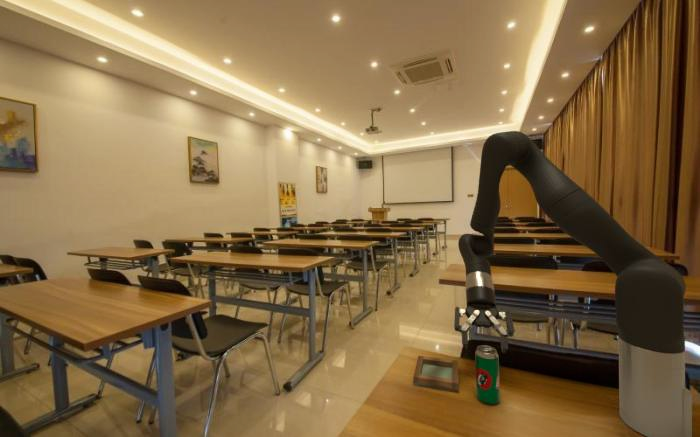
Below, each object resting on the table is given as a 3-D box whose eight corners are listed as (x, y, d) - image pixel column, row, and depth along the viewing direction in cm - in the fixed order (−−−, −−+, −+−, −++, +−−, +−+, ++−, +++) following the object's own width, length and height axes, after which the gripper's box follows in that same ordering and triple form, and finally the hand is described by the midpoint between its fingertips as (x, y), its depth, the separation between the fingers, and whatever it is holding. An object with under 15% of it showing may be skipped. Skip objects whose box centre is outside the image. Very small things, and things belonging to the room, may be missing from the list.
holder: (458, 368, 82) (457, 360, 82) (458, 392, 71) (458, 383, 71) (418, 363, 85) (418, 355, 85) (413, 385, 75) (413, 376, 75)
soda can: (502, 407, 66) (501, 355, 65) (479, 404, 67) (477, 354, 66) (496, 392, 71) (494, 345, 70) (474, 391, 72) (472, 343, 71)
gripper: (453, 283, 82) (454, 340, 72) (509, 286, 78) (519, 348, 67) (453, 296, 88) (455, 351, 77) (506, 299, 83) (515, 358, 72)
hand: (484, 349), depth 72 cm, fingers open, 8 cm apart
